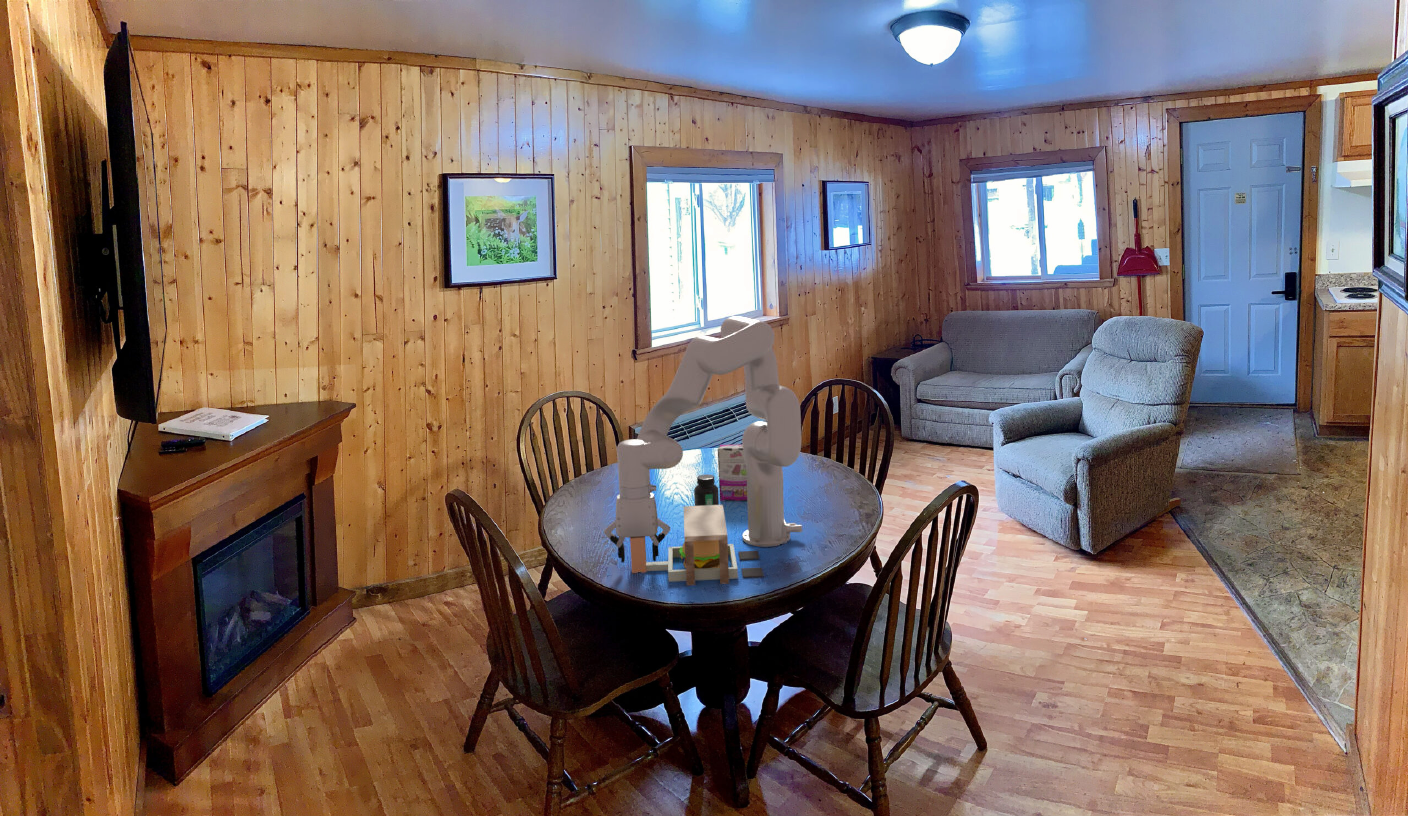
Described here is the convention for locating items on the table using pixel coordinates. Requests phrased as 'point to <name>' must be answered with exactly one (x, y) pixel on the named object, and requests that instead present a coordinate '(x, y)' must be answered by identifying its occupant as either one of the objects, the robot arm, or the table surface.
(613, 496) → the table surface
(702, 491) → the supplement bottle
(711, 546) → the hamburger
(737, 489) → the candy bar box
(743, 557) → the pit square
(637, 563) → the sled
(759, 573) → the pit square
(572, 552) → the table surface
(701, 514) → the tunnel
